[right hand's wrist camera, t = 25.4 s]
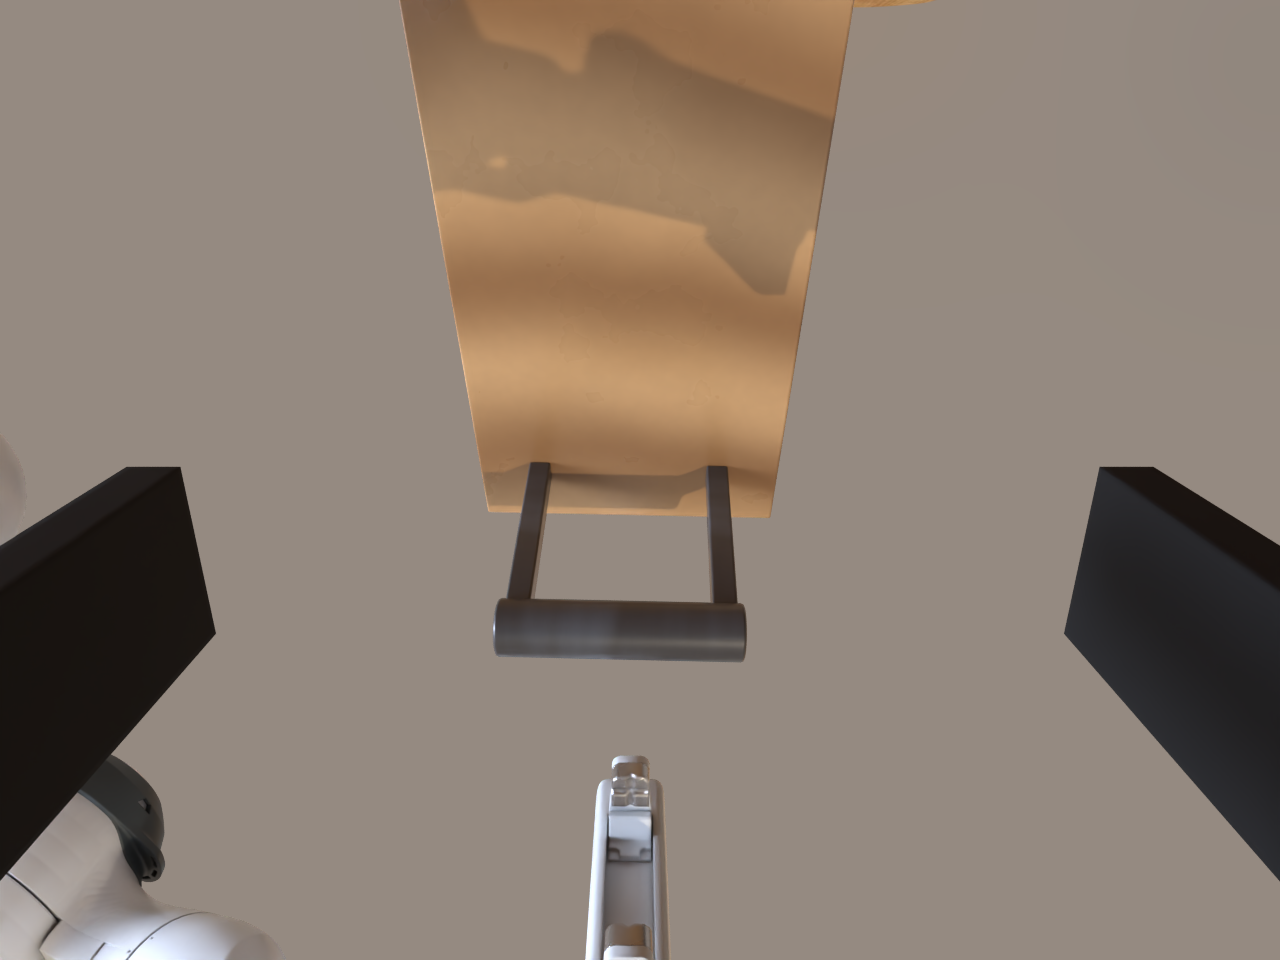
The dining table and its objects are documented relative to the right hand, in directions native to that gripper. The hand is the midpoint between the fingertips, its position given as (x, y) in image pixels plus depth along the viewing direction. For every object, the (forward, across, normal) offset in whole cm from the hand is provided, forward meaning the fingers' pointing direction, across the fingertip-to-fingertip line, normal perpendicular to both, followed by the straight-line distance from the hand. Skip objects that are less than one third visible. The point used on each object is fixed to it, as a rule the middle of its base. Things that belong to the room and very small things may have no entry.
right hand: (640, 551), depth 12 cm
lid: (+14, 0, -2) cm, 14 cm away
